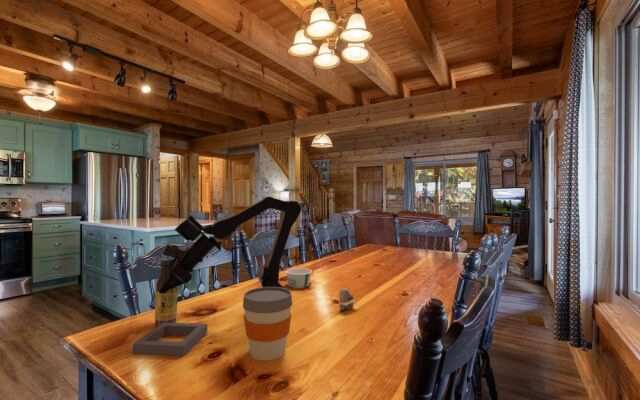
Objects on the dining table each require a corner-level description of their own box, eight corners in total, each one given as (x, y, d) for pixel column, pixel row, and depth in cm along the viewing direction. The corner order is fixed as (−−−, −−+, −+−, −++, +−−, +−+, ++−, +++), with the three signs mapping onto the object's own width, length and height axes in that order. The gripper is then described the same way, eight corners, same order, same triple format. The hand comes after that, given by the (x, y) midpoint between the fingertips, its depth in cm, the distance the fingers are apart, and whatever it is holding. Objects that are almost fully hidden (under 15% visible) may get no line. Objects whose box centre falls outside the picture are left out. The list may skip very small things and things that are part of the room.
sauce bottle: (161, 329, 93) (161, 262, 93) (150, 324, 97) (150, 260, 97) (181, 322, 99) (181, 259, 99) (171, 317, 102) (171, 257, 102)
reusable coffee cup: (270, 370, 72) (270, 305, 71) (232, 355, 78) (232, 295, 78) (301, 347, 82) (301, 291, 82) (265, 336, 89) (266, 284, 89)
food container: (317, 284, 142) (317, 270, 142) (301, 291, 132) (301, 275, 132) (296, 280, 148) (296, 266, 148) (279, 286, 138) (279, 271, 138)
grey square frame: (207, 332, 91) (207, 323, 91) (184, 355, 78) (184, 345, 78) (163, 330, 92) (163, 322, 92) (132, 353, 79) (132, 344, 79)
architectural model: (356, 309, 111) (356, 289, 111) (345, 315, 106) (345, 293, 106) (348, 307, 114) (349, 287, 114) (337, 312, 108) (337, 291, 108)
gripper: (179, 231, 107) (142, 266, 103) (179, 238, 90) (135, 280, 86) (203, 252, 111) (169, 287, 106) (207, 262, 94) (167, 304, 89)
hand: (160, 288), depth 97 cm, fingers open, 8 cm apart
